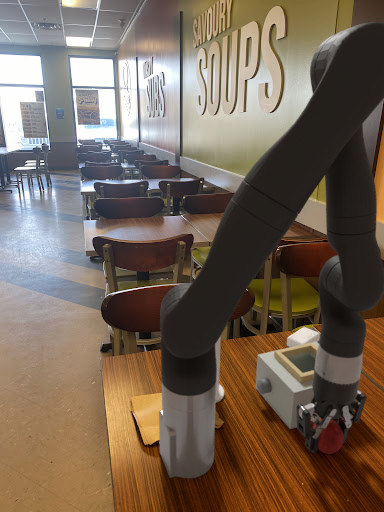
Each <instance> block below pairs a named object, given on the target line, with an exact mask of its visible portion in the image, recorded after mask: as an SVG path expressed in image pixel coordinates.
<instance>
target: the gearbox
mask: <svg viewBox="0 0 384 512" xmlns="http://www.w3.org/2000/svg"><path fill="white" fill-rule="evenodd" d="M318 346H319V342H311V343H307V344H302V345H298V346H294V347H289V346H288V347H286V348H281V349H275V350H272V351H268V352H263V353H259V354H257V358H256V359H257V360H256V374H255V387H254V388H255V389H256V390H257V392H258V393H259V394H260V395H261V396H262V397H263V399H264V400H265V402H266V403H267V404H268V405H269V406H270V408H272V410H273V411H274V413H276V414H277V416H278V417H279V418H280V420H282V421H283V423H284V424H285V425H286V426H287V428H288V429H289V430H291V429H296V428H297V410H296V407H297V405H298V404H300V403H301V404H302V405H303V406H306V405H308V404H310V403H311V400H312V398H313V396H314V392H313V387H312V383H313V375H314V367H315V360H316V353H317V349H318ZM317 417H318V418H319V419H321V418H320V417H319V416H318V415H317Z"/></svg>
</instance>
